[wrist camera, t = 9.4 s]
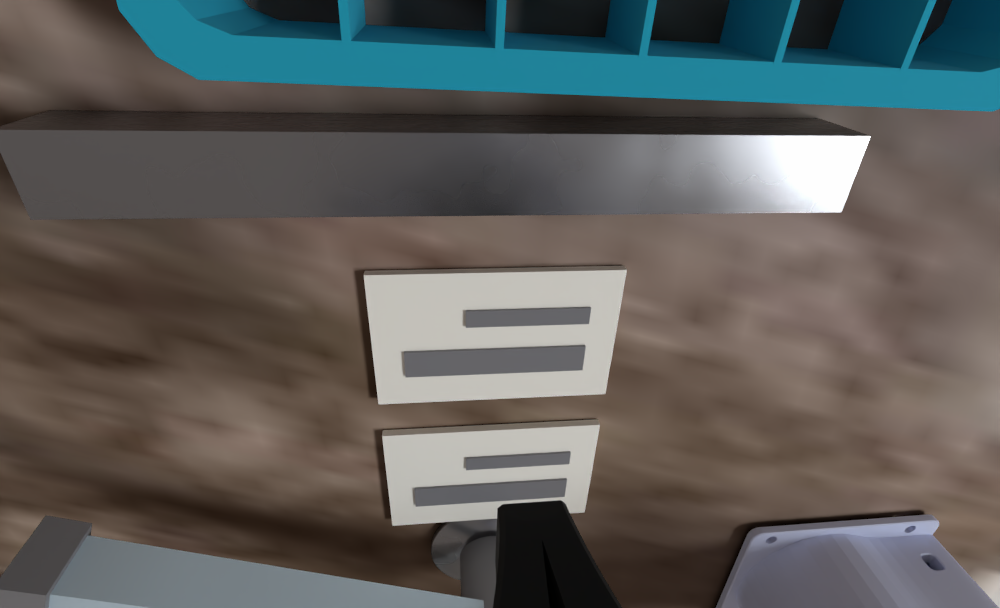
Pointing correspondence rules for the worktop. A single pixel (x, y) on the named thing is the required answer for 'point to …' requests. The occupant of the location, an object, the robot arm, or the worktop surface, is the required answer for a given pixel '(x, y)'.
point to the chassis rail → (422, 165)
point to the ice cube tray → (603, 53)
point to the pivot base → (457, 542)
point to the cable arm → (204, 578)
